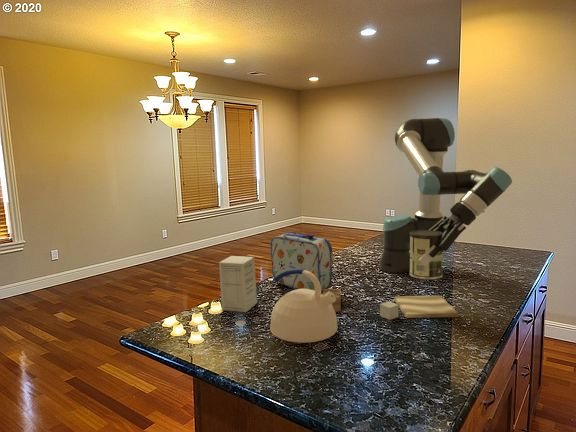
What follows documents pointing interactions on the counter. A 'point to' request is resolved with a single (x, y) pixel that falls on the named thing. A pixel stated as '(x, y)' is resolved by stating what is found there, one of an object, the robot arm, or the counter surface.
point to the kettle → (304, 313)
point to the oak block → (332, 291)
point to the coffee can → (418, 247)
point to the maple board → (424, 306)
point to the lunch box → (302, 259)
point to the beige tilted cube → (389, 310)
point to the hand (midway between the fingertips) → (416, 258)
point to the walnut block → (336, 302)
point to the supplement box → (238, 283)
